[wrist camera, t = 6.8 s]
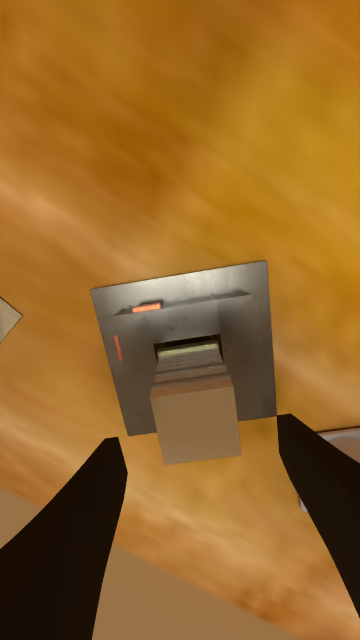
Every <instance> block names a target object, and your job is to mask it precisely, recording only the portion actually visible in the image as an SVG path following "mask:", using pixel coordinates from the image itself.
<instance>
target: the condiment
mask: <svg viewBox="0 0 360 640" xmlns="http://www.w3.org/2000/svg"><path fill="white" fill-rule="evenodd" d="M21 317H22V315H21V314H19V313H18V312H17V311H15V310H14V309H13V308H12V307H11V306H10V305H9V304H7V303H6V302H4V301H3V300H2V299H1V298H0V342H1V341H2V340H3V339H4V337H5V336H6V335H7V333H8V332H9V331H10V330H11V329H12V328H13V327H14V325H15V324H16V323H17V321H18V320H19V319H20V318H21Z"/></svg>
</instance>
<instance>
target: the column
mask: <svg viewBox="0 0 360 640" xmlns="http://www.w3.org/2000/svg"><path fill="white" fill-rule="evenodd" d="M157 354H158V359H159V360H158V364H157V368H156V372H153V378H154V382H153V383H151V384H150V389H151V395H150V402H151V406H152V411H153V415H154V420H155V424H156V429H157V433H158V438H159V442H160V447H161V451H162V456H163V460H164V465H170V464H178V463H186V462H194V461H201V460H209V459H217V458H225V457H233V456H240V455H241V446H240V437H239V429H238V420H237V411H236V403H235V394H234V386H233V384H232V377H231V373H230V371H229V372H227V364H226V362H223V360H222V358H221V355H220V353H219V345H218V342H217V340H209V341H203V342H196V343H190V344H183V345H176V346H170V347H163V348H158V352H157Z"/></svg>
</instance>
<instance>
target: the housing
mask: <svg viewBox="0 0 360 640" xmlns="http://www.w3.org/2000/svg"><path fill="white" fill-rule="evenodd" d="M90 292H91V296H92V300H93V303H94V307H95V311H96V315H97V319H98V323H99V327H100V330H101V334H102V338H103V342H104V346H105V350H106V353H107V357H108V361H109V365H110V369H111V373H112V376H113V380H114V384H115V388H116V392H117V396H118V399H119V403H120V407H121V411H122V415H123V419H124V423H125V426H126V430H127V434H128V436H134V435H141V434H148V433H156V432H157V429H156V424H155V420H154V415H153V411H152V406H151V402H150V395H151V389H150V384H151V383H153V382H154V378H153V372H156V368H157V364H158V360H159V359H158V354H157V352H158V348H160V344H159V343H161V342H168V341H175V340H181V339H188V338H194V337H201V336H207V335H214V334H216V339H217V342H218V345H219V353H220V355H221V358H222V360H223V362H226V364H227V372H229V371H230V373H231V377H232V384H233V386H234V394H235V403H236V411H237V420H238V421H245V420H252V419H259V418H267V417H274V416H277V408H276V393H275V377H274V361H273V346H272V330H271V315H270V299H269V284H268V268H267V261H258V262H252V263H246V264H240V265H234V266H228V267H222V268H216V269H210V270H204V271H197V272H191V273H185V274H179V275H173V276H167V277H161V278H155V279H149V280H143V281H137V282H131V283H125V284H119V285H113V286H106V287H100V288H94V289H91V290H90Z"/></svg>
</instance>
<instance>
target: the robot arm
mask: <svg viewBox="0 0 360 640" xmlns="http://www.w3.org/2000/svg"><path fill="white" fill-rule="evenodd" d="M277 427H278V442H279V454H280V456H281V459H282V461H283V464H284V466H285V468H286V471H287V473H288V475H289V478H290V480H291V482H292V484H293V485H294V487H295V489H296V491H297V493H298V495H299V497H300V508H301V510H302V511H304V512H308V513H309V515H310V517H311V519H312V520H313V522H314V524H315V526H316V528H317V530H318V531H319V533H320V535H321V537H322V539H323V541H324V542H325V544H326V546H327V548H328V550H329V552H330V554H331V556H332V558H333V560H334V562H335V565H336V567H337V569H338V571H339V573H340V576H341V578H342V580H343V582H344V584H345V586H346V589H347V591H348V593H349V595H350V597H351V600H352V602H353V604H354V606H355V609H356V611H357V613H358V615H359V618H360V428H354V429H346V430H338V431H331V432H323V433H316V432H314V431H313V430H312V429H310V428H309V427H308V426H306V425H305V424H304V423H303V422H301V421H300V420H299V419H297V418H296V417H295V416H293V415H292V414H284V415H277ZM127 474H128V472H127V468H126V464H125V461H124V457H123V453H122V450H121V446H120V442H119V439H118V437H113V438H105V439H104V440H103V441H102V443H101V444H100V445H99V446H98V447H97V448H96V450H95V451H94V452H93V453H92V454H91V456H90V457H89V458H88V459H87V460H86V462H85V463H84V464H83V465H82V466H81V467H80V469H79V470H78V471H77V472H76V473H75V474H74V476H73V477H72V478H71V479H70V480H69V481H68V482H67V484H66V485H65V486H64V487H63V488H62V489H61V490H60V491H59V492H58V493H57V494H56V495H55V497H54V498H53V499H52V500H51V501H50V502H49V503H48V504H47V505H46V506H45V507H44V508H43V509H42V510H41V511H40V512H39V513H38V514H37V516H35V517H34V518H33V519H32V520H31V521H30V522H29V523H28V524H27V525H26V526H25V527H24V528H23V529H22V530H21V531H20V532H19V533H18V534H17V535H16V536H15V537H13V538H12V539H11V540H10V541H9V542H8V543H7V544H6V545H4V546H3V547H2V548H1V549H0V640H92V634H93V629H94V623H95V618H96V613H97V608H98V603H99V597H100V592H101V587H102V582H103V578H104V573H105V569H106V565H107V561H108V557H109V553H110V550H111V546H112V542H113V538H114V535H115V531H116V527H117V523H118V519H119V516H120V512H121V508H122V504H123V500H124V494H125V488H126V481H127Z"/></svg>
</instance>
